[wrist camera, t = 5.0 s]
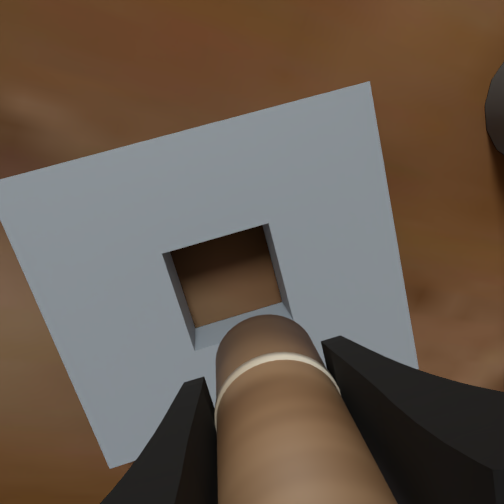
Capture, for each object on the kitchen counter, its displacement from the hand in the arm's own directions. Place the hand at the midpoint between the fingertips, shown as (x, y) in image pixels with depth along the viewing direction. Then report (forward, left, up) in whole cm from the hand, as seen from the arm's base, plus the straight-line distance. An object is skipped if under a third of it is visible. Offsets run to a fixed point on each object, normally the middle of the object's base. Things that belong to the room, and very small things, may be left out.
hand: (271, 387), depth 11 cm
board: (+1, 0, -9) cm, 9 cm away
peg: (0, 0, -2) cm, 2 cm away
